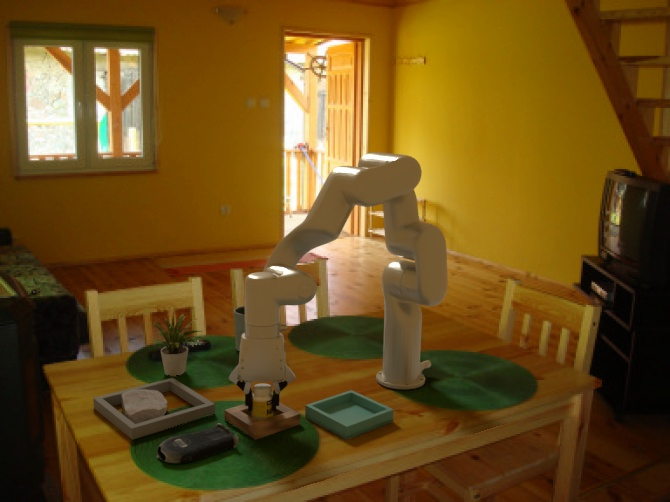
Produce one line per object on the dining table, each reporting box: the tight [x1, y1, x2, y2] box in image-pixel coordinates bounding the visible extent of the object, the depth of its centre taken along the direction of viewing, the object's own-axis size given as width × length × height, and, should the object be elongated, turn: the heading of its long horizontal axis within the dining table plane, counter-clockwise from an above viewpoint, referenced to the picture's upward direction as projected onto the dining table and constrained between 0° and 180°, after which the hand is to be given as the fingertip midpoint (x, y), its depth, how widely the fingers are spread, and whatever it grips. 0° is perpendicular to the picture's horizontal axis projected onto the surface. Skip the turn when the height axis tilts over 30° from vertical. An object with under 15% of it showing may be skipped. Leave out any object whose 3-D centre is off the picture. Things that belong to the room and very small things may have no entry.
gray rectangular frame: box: [92, 377, 216, 440], centre depth 159 cm, size 20×20×2 cm
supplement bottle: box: [252, 382, 273, 421], centre depth 154 cm, size 5×5×8 cm
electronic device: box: [156, 422, 240, 465], centre depth 142 cm, size 9×6×15 cm
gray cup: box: [233, 305, 245, 351], centre depth 200 cm, size 10×10×12 cm
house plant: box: [145, 311, 204, 377], centre depth 180 cm, size 14×14×16 cm
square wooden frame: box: [224, 401, 301, 441], centre depth 155 cm, size 12×12×2 cm
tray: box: [304, 389, 394, 441], centre depth 157 cm, size 14×14×3 cm
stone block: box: [121, 389, 168, 424], centre depth 159 cm, size 12×5×10 cm
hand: (262, 407), depth 154 cm, fingers closed on supplement bottle, 4 cm apart
